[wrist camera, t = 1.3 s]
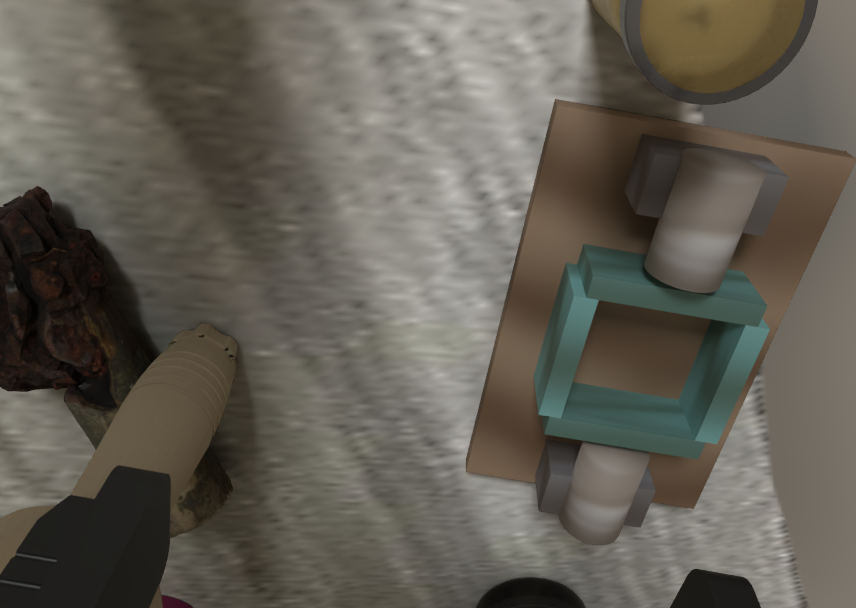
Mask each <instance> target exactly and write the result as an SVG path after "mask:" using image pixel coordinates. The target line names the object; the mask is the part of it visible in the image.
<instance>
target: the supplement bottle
mask: <svg viewBox="0 0 856 608" xmlns="http://www.w3.org/2000/svg"><path fill="white" fill-rule="evenodd" d="M476 608H586V607H585V605H584V603H583V601H582V600H581V599H580V598H579V596H578V595H577V594H576V593H574V592H573V591H572V590H571V589H569V588H568V587H566V586H564V585H562V584H560V583H558V582H555V581H552V580H549V579H544V578H535V577H526V578H517V579H512V580H509V581H506V582H503V583H501V584H499V585H497V586H495V587H493V588H492V589H490V590H489V591H488V592H487V593H486V594H485V595H484V596H483V597H482V598H481V600H480V601H479V603H478V604H477V606H476Z"/></svg>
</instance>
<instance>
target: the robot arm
mask: <svg viewBox="0 0 856 608" xmlns="http://www.w3.org/2000/svg"><path fill="white" fill-rule="evenodd" d="M170 501H171V479H170V475H169V474H167V473H161V472H155V471H150V470H144V469H138V468H133V467H127V466H121V465H118V466H116V467H115V468H114V469H113V470H112V471H111V473H110V474H109V476H108V477H107V479H106V481H105V482H104V484H103V486H102V487H101V489H100V491H99V492H98V494H97V496H96V497H95V499H92V498H86V497H80V496H75V495H70V496H68V497H67V498H66V499H64V500H63V501H62V502H60V503H59V504H58V505H56V506H55V507H53V508H52V509H51V510H49V511H48V512H47V513H45V514H44V515H43V516H41V517H40V518H39V519H38V520H37V521H36V522H35V524H34V525H33V527H32V528H31V530H30V531H29V533H28V534H27V536H26V537H25V539H24V540H23V542H22V543H21V545H20V546H19V547H18V549H17V550H16V555H15V557H12V558H11V559H10V561H9V562H8V564H7V565H6V567H5V568H4V570H3V571H2V573H1V574H0V608H149V607H150V605H151V603H152V600H153V598H154V596H155V594H156V591H157V589H158V587H159V584H160V582H161V579H162V576H163V573H164V569H165V566H166V562H167V557H168V552H169V544H170ZM670 608H761V607H760V604H759V602H758V599H757V597H756V594H755V591H754V589H753V587H752V585H751V584H750V582H749V581H748V580H747V579H746V578H744V577H740V576H734V575H728V574H723V573H717V572H711V571H706V570H700V569H694V570H692V571H691V572H690V573H689V574H688V576H687V577H686V579H685V581H684V583H683V585H682V586H681V588H680V590H679V592H678V594H677V596H676V598H675V599H674V601H673V603H672V605H671V607H670Z"/></svg>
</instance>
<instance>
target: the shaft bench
mask: <svg viewBox="0 0 856 608" xmlns="http://www.w3.org/2000/svg"><path fill="white" fill-rule="evenodd" d="M855 162H856V158H854V157H853V156H851V155H850V154H848V153H847V152H846V151H840V150H835V149H829V148H824V147H818V146H813V145H807V144H802V143H796V142H790V141H785V140H779V139H774V138H768V137H763V136H757V135H751V134H746V133H741V132H735V131H729V130H724V129H717V128H713V127H707V126H702V125H696V124H691V123H685V122H680V121H674V120H668V119H663V118H657V117H652V116H646V115H641V114H635V113H630V112H624V111H618V110H613V109H607V108H602V107H596V106H591V105H585V104H580V103H574V102H569V101H563V100H557V99H555V102H554V106H553V110H552V114H551V118H550V122H549V126H548V130H547V134H546V138H545V142H544V146H543V150H542V154H541V158H540V162H539V166H538V170H537V175H536V179H535V183H534V187H533V191H532V195H531V199H530V203H529V207H528V211H527V215H526V219H525V223H524V227H523V231H522V235H521V239H520V243H519V247H518V251H517V255H516V259H515V263H514V267H513V271H512V275H511V280H510V284H509V288H508V292H507V296H506V300H505V304H504V308H503V312H502V316H501V320H500V324H499V328H498V332H497V336H496V340H495V344H494V348H493V352H492V356H491V360H490V364H489V368H488V372H487V376H486V380H485V385H484V389H483V393H482V397H481V401H480V405H479V409H478V413H477V417H476V421H475V425H474V429H473V433H472V437H471V441H470V445H469V449H468V453H467V457H466V472H471V473H477V474H483V475H489V476H495V477H501V478H507V479H514V480H520V481H526V482H532V483H536V488H537V497H538V507H539V511H541V512H547V513H554V514H559V519H560V522H561V524H562V525H563V527H564V528H565V529H566V530H567V531H568V532H569V533H570V534H571V535H572V536H574V537H575V538H577V539H578V540H580V541H583V542H585V543H588V544H593V545H606V544H610V543H612V542H614V541H615V540H616V539H617V538H618V536H619V534H620V531H621V529H622V526H623V525H628V526H634V527H641V525H642V522H643V520H644V518H645V515H646V513H647V510H648V508H649V506H650V503H651V502H655V503H661V504H667V505H673V506H680V507H686V508H692V509H694V507H695V505H696V503H697V501H698V499H699V497H700V495H701V492H702V490H703V488H704V486H705V484H706V482H707V480H708V477H709V475H710V473H711V471H712V469H713V467H714V465H715V462H716V460H717V458H718V456H719V454H720V452H721V450H722V447H723V445H724V443H725V441H726V439H727V437H728V435H729V432H730V430H731V428H732V426H733V424H734V422H735V419H736V417H737V415H738V413H739V411H740V409H741V407H742V404H743V402H744V400H745V398H746V396H747V394H748V392H749V389H750V387H751V385H752V383H753V381H754V379H755V377H756V374H757V372H758V370H759V368H760V366H761V364H762V362H763V359H764V357H765V355H766V353H767V351H768V349H769V347H770V344H771V342H772V340H773V338H774V336H775V334H776V331H777V329H778V327H779V325H780V323H781V321H782V319H783V317H784V314H785V312H786V310H787V308H788V306H789V304H790V302H791V299H792V297H793V295H794V293H795V291H796V288H797V286H798V284H799V282H800V280H801V278H802V276H803V274H804V272H805V269H806V267H807V265H808V263H809V261H810V259H811V257H812V254H813V252H814V250H815V248H816V246H817V243H818V242H819V239H820V237H821V235H822V233H823V231H824V229H825V227H826V224H827V222H828V220H829V218H830V216H831V214H832V211H833V209H834V207H835V205H836V203H837V201H838V199H839V196H840V194H841V192H842V190H843V188H844V186H845V184H846V182H847V179H848V177H849V175H850V173H851V171H852V168H853V167H854V164H855Z"/></svg>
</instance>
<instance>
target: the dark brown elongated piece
mask: <svg viewBox="0 0 856 608" xmlns="http://www.w3.org/2000/svg"><path fill="white" fill-rule="evenodd" d="M3 206H4V207H0V387H1V388H2V389H4V390H7V391H20V392H28V391H31V390H36V389H49V388H55V390H57V389H61V388H67V391H66V392H65V396H64V402H65V403H66V405H67V406H68V408H69V409H70V411H71V412H72V414H73V416H74V417H75V419H76V420H77V422H78V423H79V425H80V426H81V428H82V429H83V431H84V432H85V433H86V435H87V436H88V438H89V440H90V441H91V443H92V444H93V446H94V448H95V449H96V450H97V448H98V446H99V444H100V442H101V441H102V439H103V437H104V435H105V434H106V432H107V430H108V428H109V426H110V425H111V423H112V421H113V419H114V417H115V416H116V414H117V412H118V410H119V408H120V407H121V405H122V403H123V401H124V400H125V399H126V397H127V395H128V394H129V392H130V391H131V389H132V388H133V386H134V385H135V384H136V382H137V381H138V380H139V378H140V377H141V375H142V374H143V373H144V372H145V371H146V369H147V368H148V367H149V366H150V365H151V364H152V363H151V361H150V360H149V358H148V357H147V355H146V354H145V352H144V351H143V349H142V348H141V346H140V345H139V343H138V342H137V340H136V338H135V337H134V335H133V334H132V332H131V330H130V329H129V327H128V326H127V324H126V323H125V321H124V320H123V318H122V317H121V315H120V313H119V312H118V310H117V308H116V307H115V305H114V303H113V302H112V299H111V295H110V293H109V290H108V288H107V286H108V283H109V274H108V272H107V269H106V268H105V266H104V260H103V256H102V252H101V251H100V250H99V249H98V248H97V243H96V242H95V240H94V238H93V236H92V234H91V231H90V230H84V229H79V228H67V227H65V226H64V225H63V224H62V223H61V222H59V221H58V220H57V219H56V218H54V217H53V216H52V215H50V214H49V212H50V210H51V209H52V201H51V199H50V196H49V194H48V193H47V192H46V191H45V190H44V189H42V188H40V187H38V186H37V187H35V188H34V189H32V190H28V191H27V192H26V193H25V195H24V196H23V197H21V196H19V197H17V198H15V199H14V200H12V201H10V202H9V203H6V204H4V205H3ZM232 491H233V487H232V484H231V480H230V478H229V477H228V475H227V474H226V472H225V471H224V469H223V468H222V467H221V465H220V464H219V462H218V461H217V459H216V458H215V456H214V455H213V454H212V452H211V451H210V449H209V448H207V450H206V452H205V453H204V455H203V457H202V458H201V460H200V462H199V464H198V465H197V467H196V469H195V470H194V472H193V474H192V476H191V477H190V479H189V481H188V482H187V484H186V486H185V487H184V489H183V491H182V493H181V494H180V496H179V498H178V499H177V501H176V503H175V505H174V507H173V508H172V510H171V512H170V538H172V537H175V536H177V535H179V534H182V533H185V532H188V531H190V530H192V529H194V528H196V527H198V526H200V525H202V524H204V523H205V522H207V521H209V520H210V519H211V518H212V517H213V516H214V515H216V514H217V513H218V511H219V510H220V509H221V508H222V506H223V505H224V503H225V502H226V500H227V494H228V495H229V496H230V494H231V492H232Z"/></svg>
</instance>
